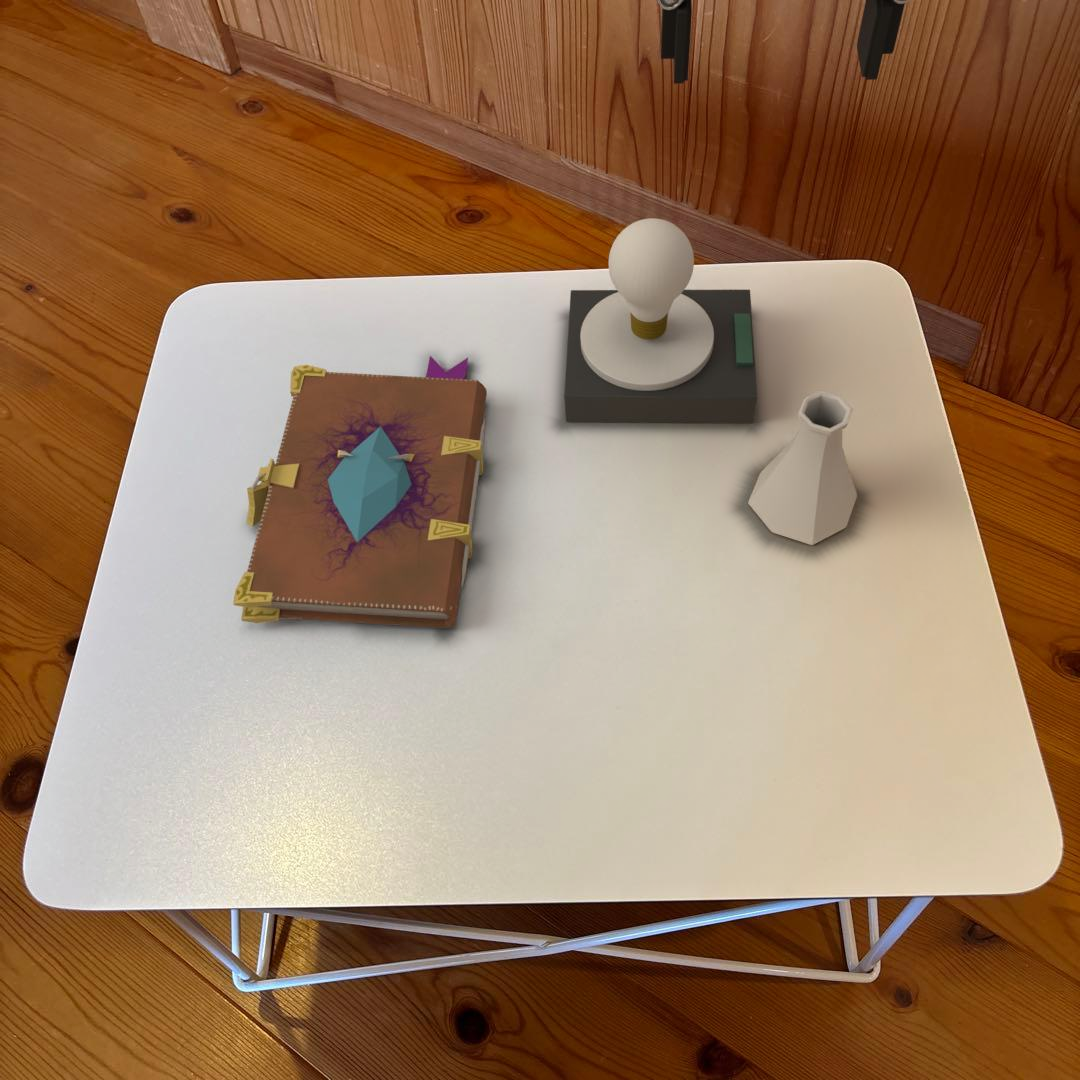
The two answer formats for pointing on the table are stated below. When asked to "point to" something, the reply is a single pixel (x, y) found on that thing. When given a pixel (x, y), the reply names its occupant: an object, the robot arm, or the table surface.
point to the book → (368, 500)
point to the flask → (809, 476)
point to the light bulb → (650, 272)
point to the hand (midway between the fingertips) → (772, 66)
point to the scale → (661, 361)
